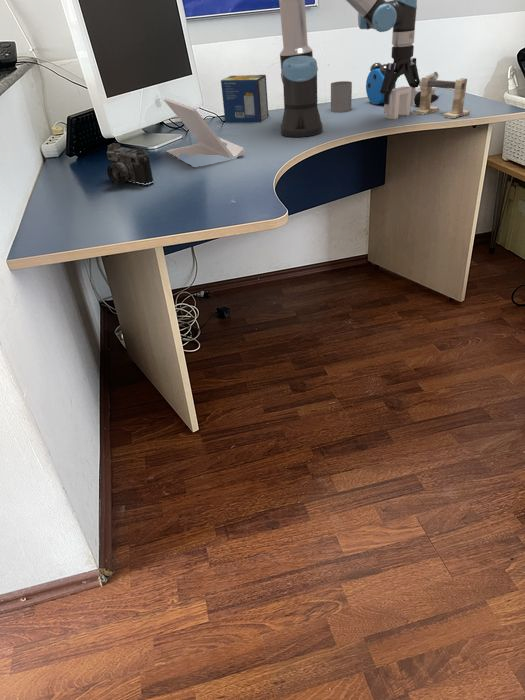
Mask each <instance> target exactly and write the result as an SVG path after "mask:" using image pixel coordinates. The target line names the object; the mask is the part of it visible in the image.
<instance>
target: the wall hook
mask: <svg viewBox="0 0 525 700" xmlns="http://www.w3.org/2000/svg"><path fill="white" fill-rule="evenodd" d="M427 76H433V80H438V79H439V76H440V75H439V73H438V72H437V71H434V72H431V73H430V74H428V75H426V76H425V77H427ZM422 78H423V77H422ZM422 78H419V80H420V84H418V85H419V86H418V87H416V88H415V95H416V94H417V93H418V92H421V85H422ZM435 91H436V88H435V87H432V95H436V93H435Z"/></svg>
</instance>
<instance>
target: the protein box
mask: <svg viewBox="0 0 525 700" xmlns="http://www.w3.org/2000/svg"><path fill="white" fill-rule="evenodd" d="M220 85H221V94H222V104H223V114H224V122H225V123H252V122H259V123H262V120H263V121H264V120H265V118H266V119H268V116H269V102H268V89H267V76H266V74H252V75H251V74H250V75H249V74H247V75H245V74H244V75H243V74H241V75H240V74H239V75H229V76H227V77H225V78H222V79H221V80H220Z"/></svg>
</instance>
